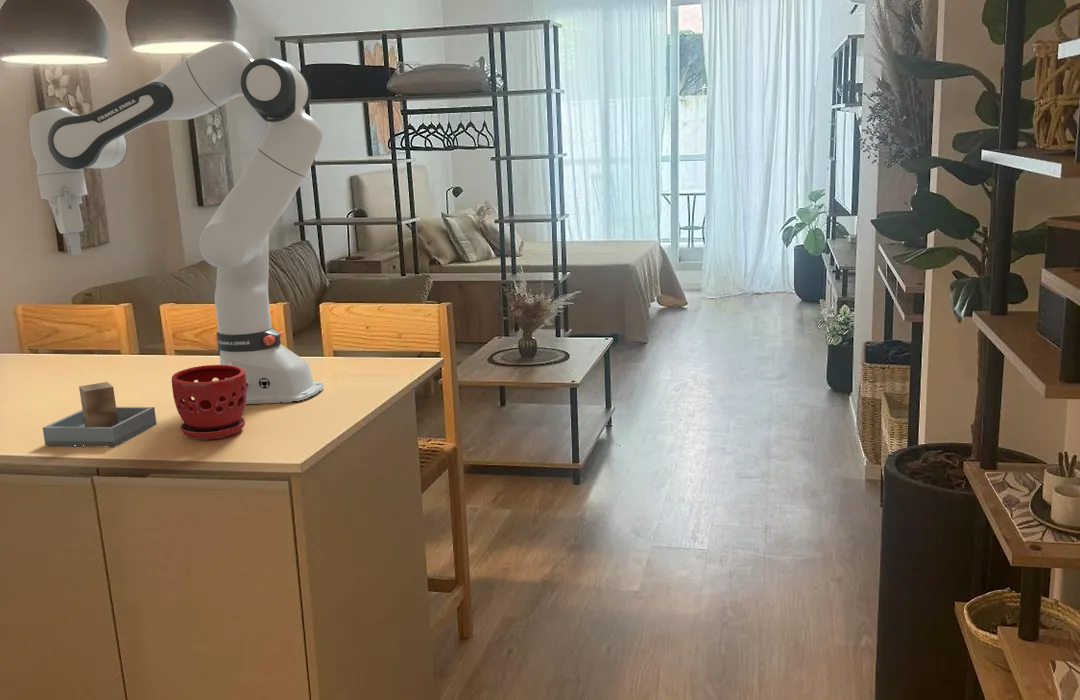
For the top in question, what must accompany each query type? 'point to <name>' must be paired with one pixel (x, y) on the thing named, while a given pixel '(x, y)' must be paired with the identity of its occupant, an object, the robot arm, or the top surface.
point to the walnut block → (98, 405)
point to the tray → (99, 428)
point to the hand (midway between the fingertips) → (75, 254)
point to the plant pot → (210, 400)
